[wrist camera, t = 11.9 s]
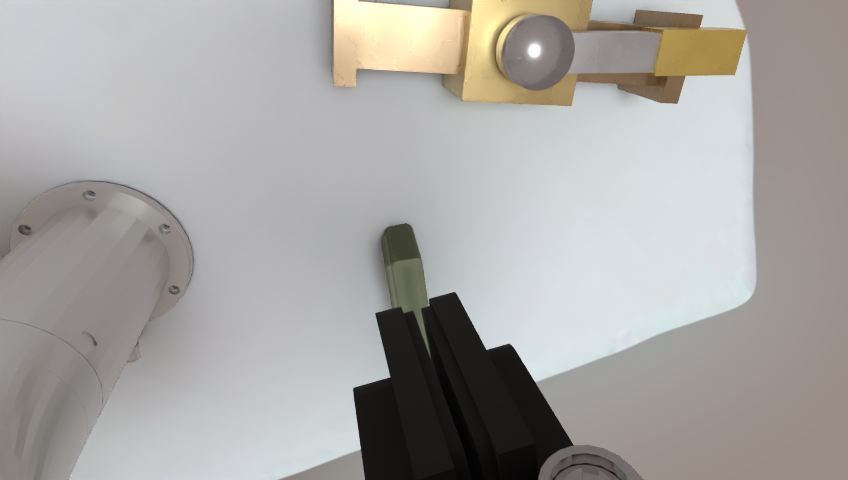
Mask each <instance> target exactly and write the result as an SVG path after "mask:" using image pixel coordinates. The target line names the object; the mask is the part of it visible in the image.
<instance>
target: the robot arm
mask: <svg viewBox="0 0 848 480" xmlns="http://www.w3.org/2000/svg"><path fill="white" fill-rule="evenodd" d="M90 190H91V191H93V192H94V193H95V194H93V193H91V191H90ZM165 224H166V225H168V226H170V227H166V226H165ZM9 242H10V253H8V254H7V255H6V256H5V257H4V258H3V259H2V260H0V480H69V477H70V475H71V472H72V470H73V468H74V466H75V464H76V462H77V459H78V457H79V455H80V453H81V451H82V449H83V447H84V445H85V443H86V441H87V439H88V437H89V435H90V433H91V431H92V429H93V427H94V425H95V423H96V421H97V419H98V417H99V415H100V413H101V411H102V409H103V407H104V405H105V404H106V402H107V400H108V398H109V396H110V394H111V392H112V390H113V388H114V386H115V384H116V382H117V380H118V378H119V376H120V374H121V372H122V370H123V368H124V366H125V364H126V362H133V361H136V360H138V359H139V358H140V357H141V353H140V348H139V343H138V341H137V340H138V339H139V337H140V335H141V333H142V331H143V329H144V327H145V325H146V323H147V322H148V321H151V320H153V319H155V318H157V317H159V316H161V315H163V314H165V313H166V312H167V311H168V310H170V309H171V308H172V307H173V306H175V304H176V303H177V302H178V301H179V299H180V298H181V297H182V296H183V294H184V292H185V290H186V288H187V286H188V283H189V280H190V278H191V275H192V267H193V257H192V249H191V246H190V243H189V241H188V238H187V235H186V234H185V232H184V230H183V229H182V227H181V225H180V224H179V222H178V221H177V220H176V219H175V218H174V217H173V216H172V215H171V214H170V212H169V211H168V210H166V209H165V208H164V207H162V206H161V205H160V204H159V203H157V202H156V201H155V200H153V199H151V198H149V197H148V196H146V195H144V194H142V193H140V192H138V191H135V190H133V189H130V188H127V187H125V186H121V185H117V184H112V183H107V182H93V181H85V182H76V183H69V184H65V185H62V186H59V187H55V188H53V189H51V190H49V191H47V192H45V193H44V194H42V195H40V196H39V197H37V198H36V199H35V200H34V201H32V202H31V203H29V204H28V205H27V206H26V208H25V209H24V210H23V211H22V212H21V213H20V214H19V216H18V217H17V219H16V221H15V223H14V225H13V227H12V232H11V236H10V241H9ZM429 304H430V306H428V307H424V308H421V313H422V318H423V323H424V327H425V332H426V337H427V342H428V347H429V352H430V355H429V352H428V350H427V347H426V344H425V341H424V339H423V336H422V333H421V330H420V328H419V325H418V322H417V319H416V317H415V314H414V311H409V312H406V313H403V310H402V307H401V306H400V307H397V308H393V309H389V310H385V311H382V312H378V313H375V314H376V318H377V322H378V327H379V331H380V335H381V339H382V343H383V347H384V352H385V356H386V360H387V364H388V368H389V372H390V378H387V379H383V380H380V381H376V382H373V383H369V384H366V385H362V386H359V387H355V388H354V389H353V392H354V401H355V408H356V415H357V423H358V430H359V438H360V445H361V452H362V459H363V466H364V474H365V480H644V479H643V478H642V477H641V476H640V475H639V474H638V473H637V472H636V471H635V470H634V469H633V468H632V467H631V466H630V465H629V464H628V463H627V462H625V461H624V460H623V459H622V458H621V457H620V456H618V455H616V454H614V453H612V452H610V451H608V450H606V449H604V448H599V447H595V446H590V445H578V446H577V445H576V446H574V445H573V444H572V442H571V440H570V439H569V437H568V435H567V434H566V432H565V430H564V429H563V427H562V426H561V424H560V422H559V421H558V419H557V418H556V416H555V414H554V412H553V411H552V409H551V408H550V406H549V404H548V403H547V401H546V399H545V398H544V396H543V394H542V393H541V391H540V390H539V388H538V387H537V385H536V383H535V381H534V380H533V378H532V377H531V375H530V373H529V372H528V370H527V368H526V367H525V365H524V363H523V362H522V360H521V359H520V357H519V355H518V354H517V352H516V350H515V349H514V348H513V346H512V345H510V344H506V345H503V346H499V347H496V348H492V349H489V350H486V349H485V347H484V345H483V343H482V341H481V339H480V337H479V335H478V333H477V332H476V330H475V328H474V326H473V324H472V322H471V320H470V318H469V317H468V315H467V313H466V311H465V309H464V307H463V305H462V303H461V301H460V300H459V298H458V296H457V294H456V293H455V292H453V293H449V294H445V295H442V296H438V297H434V298H430V299H429ZM430 357H431V358H430Z"/></svg>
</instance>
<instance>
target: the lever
mask: <svg viewBox="0 0 848 480" xmlns="http://www.w3.org/2000/svg"><path fill="white" fill-rule="evenodd" d="M746 33H747V30H741V29H731V28H713V27H643V28H642V31H571V30H570V29H569V27H568V26H567V25H566V24H565V23H564V22H563V21H562V20H560V19H559V18H557V17H554V16H550V15H542V14H533V13H530V14H524V15H521V16H518V17H516V18H515V19H513V20H512V21H511V22H509V23H508V24H507V25H506V27H505V28H504V29H503V31H502V32H501V34H500V36H499V39H498V42H497V46H496V60H497V64H498V67H499V69H500V71H501V73H502V74H503V75H504V76H505V77H506V78H507V79H508V80H509V81H511V82H513V83H515V84H517V85H519V86H521V87H523V88H525V89H528V90H533V91H540V90H545V89H548V88H550V87H552V86H554V85H556V84H557V83H558V82H559V81H561V80H562V79H563V77H564V76H565V75H566V74H583V73H644V74H648V75H652V76H698V75H735V72H736V69H737V65H738V62H739V58H740V54H741V51H742V47H743V43H744V40H745V36H746Z"/></svg>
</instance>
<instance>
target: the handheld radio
mask: <svg viewBox="0 0 848 480" xmlns="http://www.w3.org/2000/svg"><path fill="white" fill-rule="evenodd" d="M381 244H382V250H383V256H384V263H385V269H386V275H387V280H388V286H389V292H390V298H391V303H392V309H393V308H397V307H400V306H401V307H402V310H403V313H406V312H409V311H414V314H415V317H416V319H417V322H418V325H419V328H420V330H421V333H422V336H423V339H424V341H425V344H426V347H427V350H428V352H429V347H428V342H427V337H426V332H425V327H424V323H423V318H422V313H421V308H424V307H428V300H427V293H426V285H425V278H424V271H423V264H422V259H421V256H420V252H419V249H418V246H417V242H416V239H415V235H414V232H413V229H412V227H411V226H410V225H409V224H407V223H405V224H400V225H395V226H390V227H387V229H386V230H385V235H384V236H383V237H382V241H381ZM429 355H430V352H429ZM430 358H431V357H430Z"/></svg>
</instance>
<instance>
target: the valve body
mask: <svg viewBox="0 0 848 480" xmlns="http://www.w3.org/2000/svg"><path fill="white" fill-rule="evenodd" d="M592 2H593V0H450V5H449V8H442V7H431V6H419V5H407V4H396V3H384V2H372V1H361V0H332V62H331V72H332V78H333V84H334V86H343V87H356V68H358V69H375V70H392V71H409V72H426V73H443V80H442V85H443V86H444V87H445V88H446V89H448V90H449V91H450V92H451V93H453V94H454V95H455V96H457V97H458V98H459V99H460V100H462V101H477V102H498V103H519V104H540V105H560V106H571V105H572V100H573V95H574V90H575V85H576V81H579V82H596V83H613V84H619V86H618V89H621V90H624V91H627V92H630V93H633V94H636V95H639V96H642V97H645V98H648V99H651V100H654V101H657V102H660V103H674V104H677V103H678V100H679V96H680V93H681V90H682V86H683V83H684V79H685V76H652V75H648V74H644V73H583V74H566V75H565V76H564V77H563V79H562V80H561V81H559V82H558V83H557V84H556V85H554V86H552V87H550V88H548V89H545V90H540V91H533V90H528V89H525V88H523V87H521V86H519V85H517V84H515V83H513V82H511V81H509V80H508V79H507V78H506V77H505V76H504V75H503V74H502V73H501V71H500V69H499V67H498V64H497V60H496V46H497V42H498V39H499V36H500V34H501V32H502V31H503V29H504V28H505V27H506V25H507V24H508V23H509V22H511V21H512V20H513V19H515V18H516V17H518V16H521V15H524V14H530V13H533V14H542V15H550V16H554V17H557V18H559V19H560V20H562V21H563V22H564V23H565V24H566V25H567V26H568V27H569V29H570V30H571V31H642V28H643V27H700V25H701V21H702V18H703V15H696V14H685V13H671V12H658V11H644V10H637V11H636V15H635V19H634V23H633V24H629V23H617V22H605V21H594V20H589V16H590V12H591V7H592Z"/></svg>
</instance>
